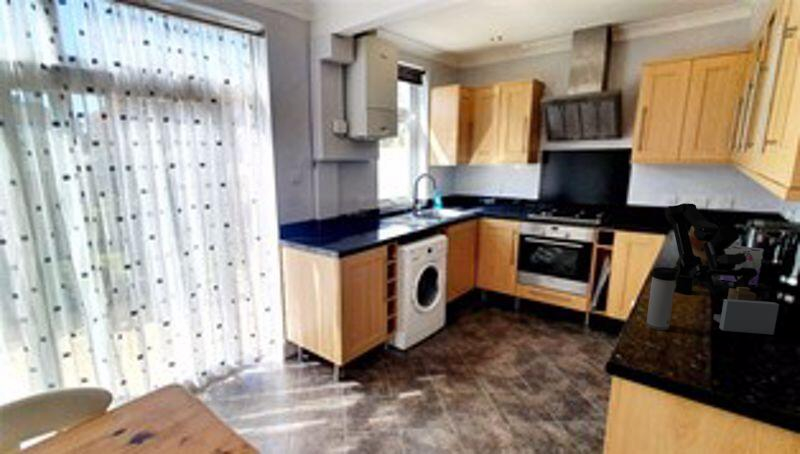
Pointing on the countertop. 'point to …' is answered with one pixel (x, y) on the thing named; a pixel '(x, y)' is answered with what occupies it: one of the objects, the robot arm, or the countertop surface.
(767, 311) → the grey stool
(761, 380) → the countertop surface
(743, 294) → the brown box with handle
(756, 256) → the candy box
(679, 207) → the robot arm
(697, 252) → the butternut squash
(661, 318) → the travel mug
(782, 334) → the countertop surface
